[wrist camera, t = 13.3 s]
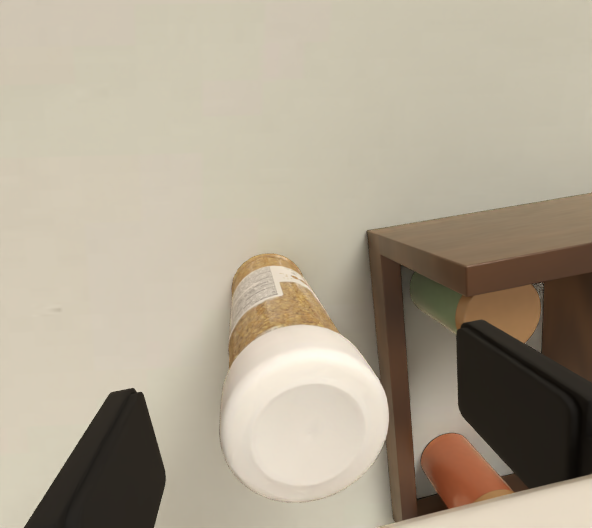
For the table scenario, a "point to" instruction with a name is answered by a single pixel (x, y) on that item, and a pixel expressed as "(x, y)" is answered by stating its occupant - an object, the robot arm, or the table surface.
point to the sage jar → (479, 307)
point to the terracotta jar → (460, 472)
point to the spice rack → (474, 281)
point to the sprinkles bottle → (295, 390)
